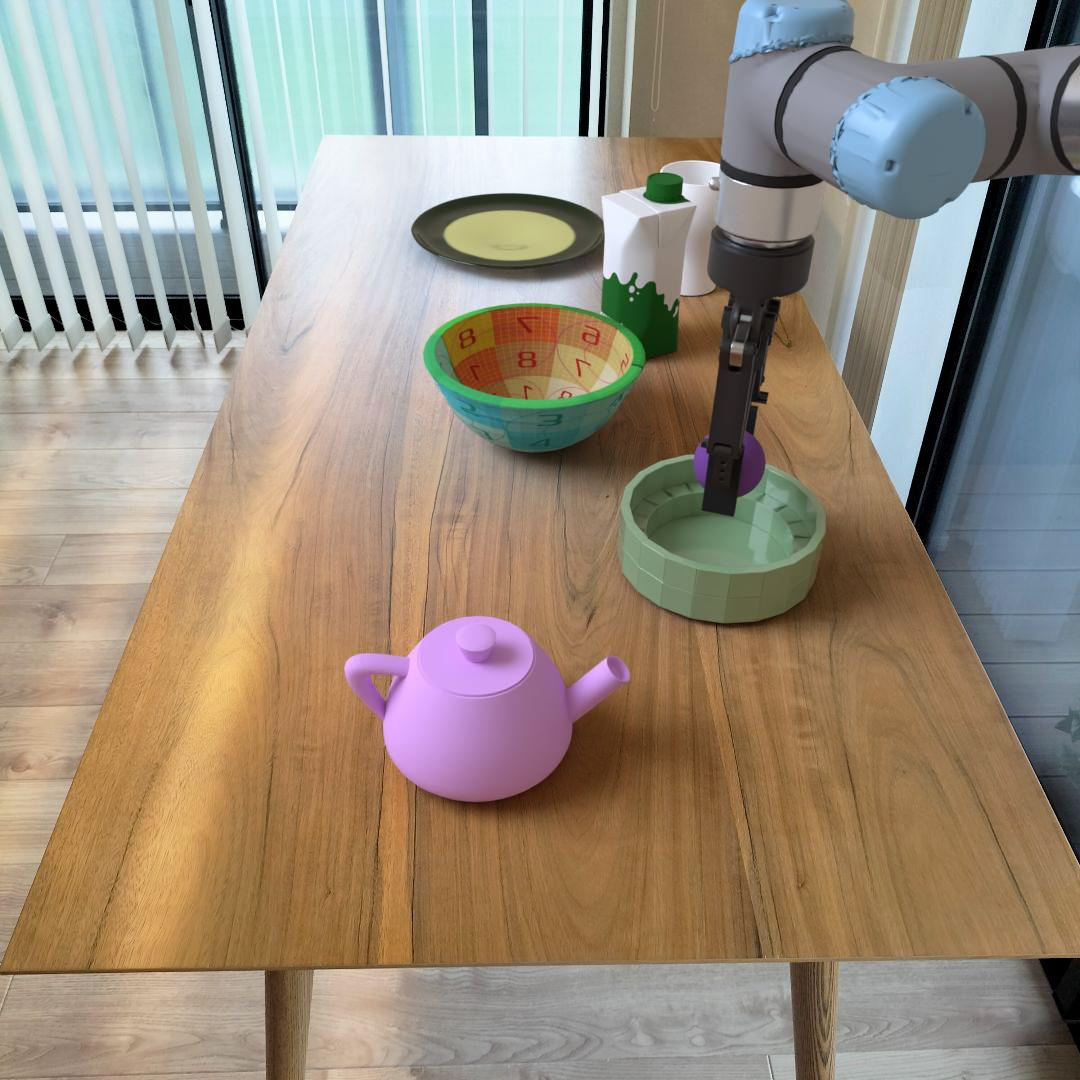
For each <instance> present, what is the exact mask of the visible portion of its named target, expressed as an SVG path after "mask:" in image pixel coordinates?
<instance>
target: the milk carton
mask: <svg viewBox="0 0 1080 1080" xmlns="http://www.w3.org/2000/svg"><path fill="white" fill-rule="evenodd" d="M682 188H683V178H682V177H681V176H679V175H676V174H673V173H660V172H653V173H651V174H649V175H647V178H646V185H645V186H640V187H636V188H630V189H623V190H619V192H615V193H610V194H606V195H601V207H602V220H603V221H604V232H605V240H604V246H603V267H602V286H601V300H600V301H601V303H600V313H599V314H600V315H603V316H606V317H608V318H610V319H612V320H614V321H616V322H618V323H620V324H621V325H623V326H625V327H626V328H628V329H629V330H630V331H631V332H632V333H633V334H634V335H636V337H637V338H638V339H639V341H640V342H641V343H642V346H643V348H644V351H645V360H648V359H651V358H652V359H653V358H655V357H659V356H662V355H667V354H669V353H673V352H676V351H678V349H679V319H680V302H681V296H682V295H681V285H682V275H683V265H684V256H685V247H686V240H687V236H688V233H689V229H690V226H691V223H692V220H693V217H694V213H695V210H696V207H697V206H696V205H695V204H694V203H691V202H690V200H688V199H685V197H684V196H683V195H682Z"/></svg>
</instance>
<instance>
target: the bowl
mask: <svg viewBox="0 0 1080 1080" xmlns="http://www.w3.org/2000/svg"><path fill="white" fill-rule="evenodd" d="M422 359H423V363H424V366H425V369H426V370H427V372H428V374H429V375H430V376H431V378H432V379H433V382H434V384H435V386H436V388H437V389H438V390H439V391H440V393H441V394H442V396H443V398H444V400H445V403H446V404H447V405H448V407H449V408H450V409H451V411H452V412H453V413H454V414H455V415H456V417H457V418H458V419H459V421H460V422H462V424H463V425H465V427H467V428H468V429H469V430H471V431H472V432H473V433H475V434H476V435H477V436H478V437H480V438H482V439H484V440H486V441H488V442H490V443H492V444H494V445H497V446H498V447H501V448H504V449H508V450H511V451H516V452H522V453H528V454H529V453H531V454H535V453H539V454H540V453H544V452H553V451H557V450H561V449H564V448H565V449H566V448H568V447H570V446H573V445H575V444H577V443H579V442H581V441H584V440H585V439H587V438H589V437H590V436H591V435H593V434H595V432H597V431H598V430H599V429H601V428H602V427H603V426H604V425H605V424H606V423H607V422H608V421H609V420H610V419H611V418H612V417H613V416H614V414H615V413H616V412H617V411H618V409H619V408H620V406H621V405H622V403H623V401H624V399H625V398H626V396H627V395H628V394H629V393H630V392H631V390H632V389H633V387H634V385H635V382H636V381H637V380H638V378H639V377H640V376H641V374H642V372H643V371H644V367H645V364H646V359H645V351H644V348H643V346H642V343H641V342H640V341H639V339H638V338H637V337H636V335H634V334H633V333H632V332H631V331H630V330H629V329H628V328H626V327H625V326H623V325H621V324H620V323H618V322H616V321H614V320H612V319H610V318H608V317H606V316H603V315H600V313H598V312H595V311H591V310H588V309H584V308H581V307H574V306H569V305H563V304H554V303H544V302H543V303H541V302H540V303H539V302H538V303H537V302H526V303H525V302H523V303H521V302H520V303H519V302H518V303H508V304H507V303H506V304H500V305H493V306H488V307H483V308H479V309H475V310H473V311H469V312H466V313H463V314H461V315H458V316H456V317H454V318H452V319H449V320H448V321H446V322H445V323H443V324H442V325H440V326H439V327H438V328H437V329H436V330H435V331H433V333H431V334H430V335H429V337H428V339H427V340H426V342H425V344H424V347H423V351H422Z"/></svg>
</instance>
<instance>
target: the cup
mask: <svg viewBox="0 0 1080 1080" xmlns="http://www.w3.org/2000/svg"><path fill="white" fill-rule="evenodd" d="M719 170H720V163H717V162H713V161H706V160H679V161H674V162H671V163H668V164H665V165H663V166H662V168H661V169H660V172H659V173H673V174H676V175H679V176H681V177H682V178H683V188H682V195H683V196H684V197H685V199H688V200H690V202H691V203H694V204H695V205H696V206H697V207H696V210H695V213H694V217H693V220H692V223H691V226H690V229H689V233H688V236H687V240H686V247H685V256H684V265H683V275H682V285H681V295H680V296H688V297H692V296H693V297H694V296H695V297H696V296H703V295H707V294H709V293H711V292H712V291H714V290H715V289H716V287H717V285H716V284H714V283H713V282H712V281H711V279H710V278H709V276H708V273H707V264H708V256H709V247H710V239H711V232H712V230H713V228H714V227H715V226H716V225H717V224H716V223H715V221H714V213H715V204H716V197H717V196H718V194H719V191H714V190H711V189H710V187H709V182H710V180H711V178H712V177H719Z"/></svg>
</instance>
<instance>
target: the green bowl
mask: <svg viewBox="0 0 1080 1080" xmlns="http://www.w3.org/2000/svg"><path fill="white" fill-rule="evenodd" d="M694 455H695V453H694V454H684V455H679V456H676V457H671V458H668V459H662V460H660V461H658V462H656V463H654V464H652V465H650V466H648V467H646V468H644V469H642V470H640V471H639V472H637V474H636V475H635V476H634V477H633V478H632V479H631V480H630V481H629V483H628V484H627V485H625V487H624V489H623V494H622V498H621V502H620V507H619V520H618V534H617V547H616V555H617V559H618V561H619V566H620V571H621V573H622V574H623V576H625V578H626V579H627V580H628V582H629V583H630V584H631V586H632V587H633V588H634V589H635V590H636V592H638V594H640V595H642V597H643V596H644V597H645V598H646V599H648V600H649V601H650V602H652V603H653V604H655V605H656V606H658V607H660V608H662V609H665V610H666V611H667V610H668V611H670V612H673V613H676V614H679V615H681V616H683V617H686V618H689V619H693V620H697V621H698V620H700V621H705V622H712V623H719V624H735V623H736V624H737V623H753V622H760V621H762V620H766V619H768V618H769V619H770V618H773V617H775V616H779V615H782V614H784V613H786V612H787V611H789V610H790V609H792V608H793V607H795V606H796V605H798V604H799V603H800V602H802V601H804V600H805V598H806V597H807V595H808V593H809V592H810V590H811V588H812V587H813V586H814V583H815V581H816V579H817V573H818V569H819V565H820V560H821V556H822V552H823V546H824V542H825V538H826V533H827V515H826V511H825V509H824V507H823V506H822V504H821V502H820V500H819V498H818V496H817V495H816V494H815V493H814V492H813V491H812V490H811V489H810V488H809V487H807V486H806V484H804V483H803V482H802V481H800V480H799V479H798V478H797V477H795V476H793V475H792V474H789V473H787V472H785V471H783V470H782V469H780V468H778V467H777V466H774V465H771V464H768V463H766V464H765V471H764V474H763V477H762V479H761V481H760V482H759V484H758V485H757V486H756V487H755V488H754V489H753V490H752V491H751V492H749V493H748V494H746V495H744V496H741V497H738V498H737V503H736V509H735V514H734V517H731V516H726V515H721V514H716V513H711V512H706V511H701V510H702V503H703V495H704V488H703V487H702V486H701V484H700V483H699V482H698V480H697V478H696V475H695V472H694V466H693V463H694Z"/></svg>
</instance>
